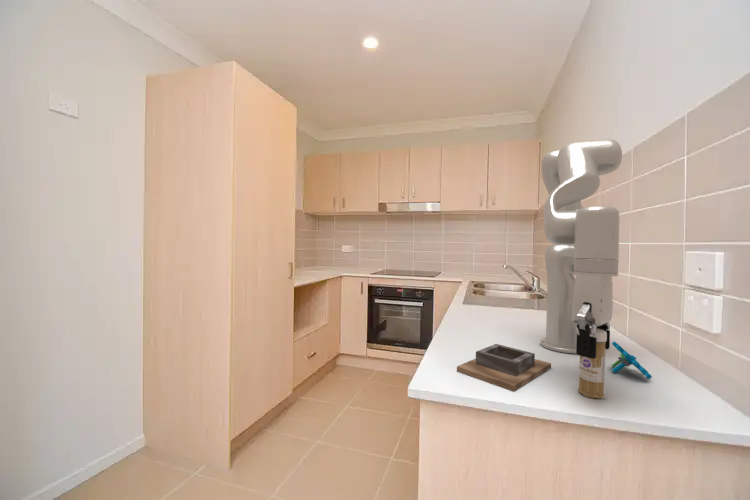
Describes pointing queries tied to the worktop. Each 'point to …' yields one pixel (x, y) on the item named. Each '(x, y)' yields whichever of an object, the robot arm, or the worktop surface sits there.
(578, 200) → the robot arm
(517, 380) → the caddy
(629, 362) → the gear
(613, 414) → the worktop surface
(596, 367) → the sprinkles bottle
